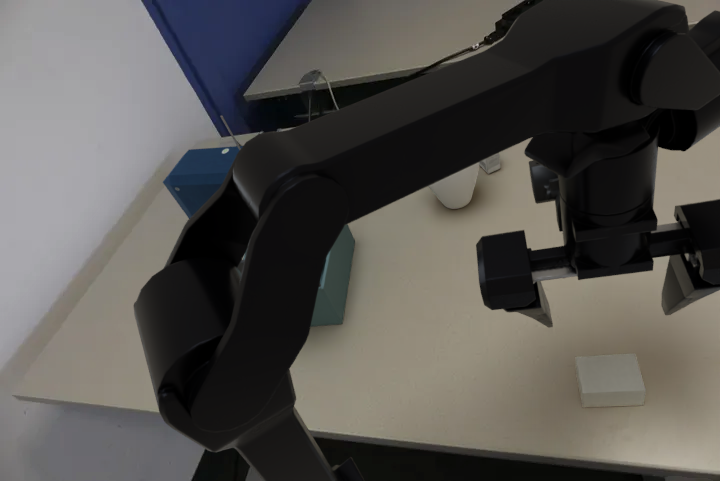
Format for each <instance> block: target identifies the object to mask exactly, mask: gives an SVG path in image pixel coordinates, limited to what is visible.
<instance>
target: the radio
mask: <svg viewBox="0 0 720 481" xmlns="http://www.w3.org/2000/svg"><path fill="white" fill-rule="evenodd" d="M219 117H220V118H221V121H222V122H223V124H224V125H225V128H226V130H227V131H228V133H229V134H230V136H231V138H232V140H233V142H234V144H235V145H236V146H235V145H234V146H223V147H221V146H220V147H210V148H209V147H207V148H206V147H205V148H192V149H191V148H189V149H188V150H187V151H186V152H185V153H184V154H183V155H182V156H181V158H180V159H179V160H178V161H177V163H176V164H175V165H174V166H173V167H172V169H171V170H170V172H169V173H168V174H167V176H166V177H165V178H164V180H162V184H163V185H164V186H165V187H166V189H167V191H168V193H170V195H171V196H172V198H173V199H174V200H175V201H176V203H177V204H178V206H179V207H180V208H181V210H182V211H183V213H184V215H185V216H186V217H187V218H188V220H189V219H190V218H191V217H192V216H193V215H194V214H195V213H196V212H197V211H198V210H199V209H200V207H201V206H202V205H203V204H204V203H205V202H206V201H207V200H208V199H209V198H210V197H211V196H212V195H213V194H214V193H215V192H216V191H217V190H218V189H219V188H220V187H221V185H222V183H223V181H224V179H225V177H226V175H227V173H228V171H229V169H230V167H231V165H232V163H233V161H234V159H235V157H236V155H237V154H238V152H239V151H240V150H241V148H242V147H243V146H244V145H240V144H239V143H238V141H237V138H236V137H235V136H234V134H233V132H232V130H231V128H230V127H229V125H228V123H227V121H226V119H225V117H224V116H223V115H220V116H219Z"/></svg>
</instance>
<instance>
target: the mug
mask: <svg viewBox="0 0 720 481" xmlns="http://www.w3.org/2000/svg"><path fill="white" fill-rule="evenodd" d="M479 170H480V165H479V162H478V163H476V164H474V165H472V166H470V167H468V168H466V169H463V170H461V171H459V172H457V173H455V174H453V175H451V176H449V177H446V178H444V179H442V180H440V181H438V182H436V183H434V184H432V185H430V186H427V188H428V189H429V190H430V191H431V193H433V195H434V196H435V197H436V198H437V199H438V200H439V201H440V203H441V204H442V205H443V206H444V207H445V208H448V209H452V210H456V209H461V208H464V207H466V206H468V205H469V204H470V202H471V201H472V198H473V194H474V190H475V187H476V184H477V180H478V176H479Z"/></svg>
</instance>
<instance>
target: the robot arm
mask: <svg viewBox="0 0 720 481" xmlns="http://www.w3.org/2000/svg"><path fill="white" fill-rule="evenodd" d="M718 128H720V10H716V9H715V10H713V11H711V12H710V13H708V14H707V15H705V16H704V17H703V18H701V19H700V20H699V21H698V22H697V23H696V24H695V25H694V26H693V27H692V28H690V27H689V19H688V15H687V11H686V7H685V6H684V5H681V4H677V3H672V2H669V1H665V0H541V1H540V2H538V3H537V4H535V5H533V6H531V7H530V8H528V9H527V10H525V11H523V12H522V13H521V14H519V16H517V18H516V19H515V20H514V21H513V23H512V25H511V26H510V28H509V29H508V30H507V31H506V33H505V35H504V37H503V38H502V39H501V40H500V41H498V42H496V43H495V44H493V45H492V46H490V47H489V48H487V49H485V50H483V51H481V52H478V53H476V54H473V55H471V56H469V57H466V58H463V59H461V60H458V61H456V62H454V63H451V64H448V65H446V66H444V67H440V68H439V69H436V70H433V71H431V72H429V73H426V74H424V75H422V76H421V75H420V76H418V77H417V78H414V79H411V80H409V81H407V82H404V83H401V84H398V85H397V86H394V87H392V88H389V89H387V90H384V91H381V92H379V93H377V94H374V95H372V96H369V97H366V98H364V99H362V100H360V101H357V102H355V103H352V104H349V105H347V106H345V107H342V108H340V109H336V110H335V111H331V112H330V113H327V114H325V115H323V116H320V117H317V118H315V119H313V120H310V121H307V122H305V123H302V124H300V125H298V126H295V127H293V128H289V129H287V130H281V131H276V130H273V131H272V130H271V131H267V132H261V133H258V134H257V135H254V136H253V137H252V138H250V139H248V140H247V141H246V142H245V143H244V144H243V145H242V146H243V147H242V148H241V150H240V151H239V152H238V154H237V155H236V157H235V159H234V161H233V163H232V165H231V167H230V169H229V171H228V173H227V175H226V177H225V179H224V181H223V183H222V185H221V187H220V188H219V189H218V190H217V191H216V192H215V193H214V194H213V195H212V196H211V197H210V198H209V199H208V200H207V201H206V202H205V203H204V204H203V205H202V206H201V207H200V209H199V210H198V211H197V212H196V213H195V214H194V215H193V216H192V217H191V218H190V219H189V218H188V219H187V220H186V222H185V224H184V225H183V228H182V229H181V232H180V233H179V235H178V238H177V240H176V242H175V244H174V246H173V248H172V250H171V252H170V253H169V256H168V258H167V260H166V262H165V264H164V266H163V268H161V270H159V271H158V272H156V273H155V274H152V276H151V277H150V278H149V279H148V280H147V281H146V283H145V284H144V285H143V286H142V287H141V289H140V291H139V293H138V296H137V299H136V300H135V301H134V303H133V314H134V318H135V324H136V327H137V330H138V334H139V338H140V342H141V346H142V351H143V353H144V354H143V355H144V358H145V361H146V365H147V366H146V367H147V370H148V374H149V377H150V381H151V385H152V387H153V392H154V397H155V401H156V405H157V408H158V412H159V414H160V416H161V418H162V421H164V424H166V425H167V426H168V427H170V428H171V429H172V430H174V431H175V432H177V433H179V434H180V435H182V436H184V437H185V438H187V439H189V440H190V441H192V442H193V443H194V444H197V445H198V446H200V447H202V448H203V449H205V450H207V451H208V452H211V453H218V452H222V451H225V450H229V449H234V450H236V452H238V453H239V455H240V456H241V457H242V459H244V461H245V462H246V463H247V464H248V465H249V467H250V468H251V469H252V471H254V473H255V474H256V475H257V476H258V478H259V479H260V480H261V481H366V480H365V478H364V476H363V475H362V473H361V471H360V469H359V468H358V466H357V464H356V462H355V461H354V458H353V457H352V456H350V457H348V459H346V460H345V461H344V462H342V463H341V464H340V465H339V464H335V465H333V466H331V464H330V462H328V460H327V458H326V456H325V455H324V453H323V451H322V450H321V448H320V446H319V445H318V443H317V442H316V440H315V438H314V436H313V435H312V433H311V431H310V430H309V428H308V427H307V425H306V423H305V421H304V420H303V418H302V416H301V415H300V413H299V412H298V410H297V408H296V406H295V404H296V401H297V395H296V391H295V387H294V381H293V378H292V374H291V370H290V369H291V367H292V365H293V364H294V362H295V361H296V359H297V357H298V355H299V354H300V352H301V351H302V349H303V347H304V346H305V345H306V342H307V339H308V337H309V335H310V331H311V327H310V326H311V322H312V317H313V312H314V307H315V303H316V298H317V293H318V288H319V284H320V279H321V274H322V269H323V264H324V261H325V258H326V257H327V255H328V253H329V252H330V250H331V248H332V247H333V245H334V243H335V241H336V240H337V238H338V236H339V235H340V233H341V231H342V230H343V228H344V226H345V225H347V224H348V225H349V224H351V223H353V222H356V221H357V220H360V219H361V218H363V217H366V216H368V215H370V214H372V213H374V212H376V211H378V210H381V209H382V208H385V207H387V206H389V205H392V204H393V203H396V202H398V201H400V200H402V199H405V198H406V197H408V196H410V195H413V194H415V193H417V192H419V191H422V190H423V189H425V188H428V186H430V185H432V184H434V183H436V182H438V181H440V180H442V179H444V178H446V177H449V176H451V175H453V174H455V173H457V172H459V171H461V170H463V169H466V168H468V167H470V166H472V165H474V164H476V163H478V162H480V161H483V160H485V159H487V158H489V157H491V156H493V155H495V154H497V153H499V154H500V153H502V152H503V151H506V150H508V149H511V148H512V147H514V146H517V145H519V144H521V143H524V142H525V141H527V140H529V139H530V140H529V142H528V144H527V145H526V146H525V148H524V152H523V154H524V155H525V157H527V158H529V159H530V160H528V168H529V176H530V182H531V188H532V195H533V198H534V203H535V204H536V205H539V204H545V203H549V202H555V204H554V205H555V214H556V216H555V217H556V223H557V226H558V232H561V233H562V238H563V240H562V241H563V245H561V246H553V247H547V248H546V247H545V248H540V249H533V250H532V248H531V247H528V244H527V238H526V237H527V236H526V231H525V229H520V230H513V231H507V232H501V233H494V234H487V235H482V236H481V237H480V239H479V240H478V241H477V242H476V244H475V250H476V259H477V260H476V262H477V272H478V274H477V275H478V285H479V289H480V290H479V291H480V296H481V299H482V302H483V306H484V307H487V309H489V310H491V311H497V310H498V311H499V310H503V311H504V312H506V313H518V314H520V315H523V316H525V317H527V318H531V319H533V320H535V321H536V322H538V323H540V324H541V325H543V326H545V327H546V328H549V329H550V328H553V327H554V323H553V317H552V312H551V308H550V303H549V301H548V297H547V295H546V291H545V289H544V287H543V283H542V282H543V281H551V280H558V279H559V280H560V279H566V278H574V277H577V280H578V281H583V280H589V279H597V278H598V279H599V278H605V277H612V276H613V277H614V276H621V275H630V274H637V273H645V272H652V271H654V263H655V262H654V261H655V260H654V259H656V258H664V257H669V258H668V263H667V266H666V272H665V275H664V280H663V285H662V289H661V301H660V302H661V308H662V312H663V315H664V316H672V315H673V314H675V313H677V312H679V311H680V310H682V309H684V308H685V307H688V306H690V305H691V304H694V303H695V302H697V301H700V300H702V299H704V298H705V297H708V296H710V295H712V294H714V293H716V292H719V291H720V198H716V199H709V200H703V201H698V202H691V203H690V202H689V203H685V204H678V205H674V212H673V217H674V220H675V221H676V222H672V223H671V222H670V223H664V224H658V217H657V214H656V211H655V210H654V204H655V192H656V191H655V190H656V177H657V168H658V167H657V165H658V164H657V163H658V154H659V149H663V150H667V151H673V152H676V151H677V152H678V151H679V152H682V153H683V152H686V151H687V150H689V149H691V148H692V147H694V146H695V145H696V144H698V143H699V142H700V141H702V140H703V139H705V138H706V137H707V136H709V135H710V134H711V133H713V132H714V131H716V130H717V129H718ZM246 250H247V252H246ZM245 252H246V256H245V261H244V265H243V269H242V274H241V272H240V271H239V270H238V269H237V267H238V265H239V263H240V262H241V260H243V258H244V255H245Z"/></svg>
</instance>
